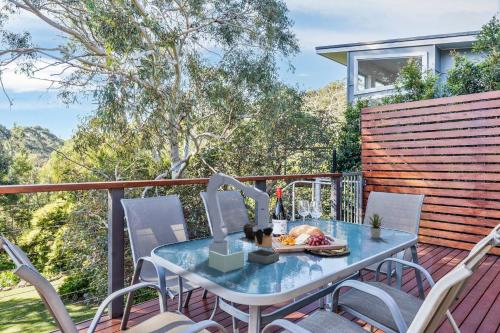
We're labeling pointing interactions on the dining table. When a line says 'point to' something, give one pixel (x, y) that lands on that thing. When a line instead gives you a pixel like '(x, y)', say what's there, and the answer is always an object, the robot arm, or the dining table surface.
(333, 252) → the food plate
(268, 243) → the small crate
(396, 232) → the dining table surface
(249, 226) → the pine cone
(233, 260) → the l-shaped corner panel
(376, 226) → the house plant
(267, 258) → the big crate
